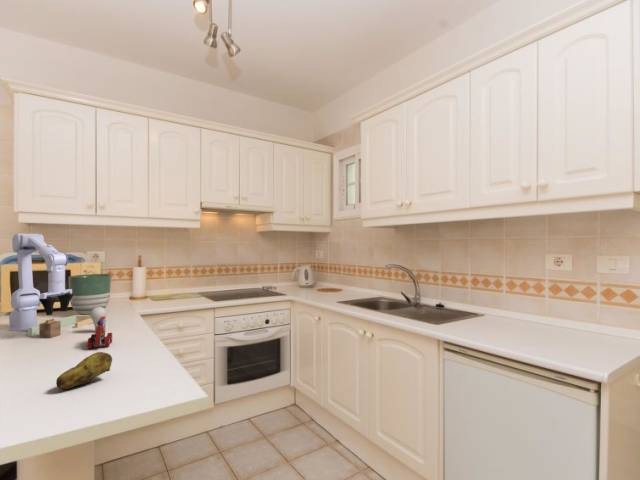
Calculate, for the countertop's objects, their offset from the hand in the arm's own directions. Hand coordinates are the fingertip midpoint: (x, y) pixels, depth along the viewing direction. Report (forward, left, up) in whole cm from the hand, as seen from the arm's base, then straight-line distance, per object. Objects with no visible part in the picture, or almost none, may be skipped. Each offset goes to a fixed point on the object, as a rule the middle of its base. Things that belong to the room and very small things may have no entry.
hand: (56, 312), depth 147 cm
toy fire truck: (+30, -13, -10) cm, 34 cm away
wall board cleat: (-6, +10, -10) cm, 15 cm away
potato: (+51, -47, -10) cm, 70 cm away
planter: (-16, +41, -10) cm, 45 cm away
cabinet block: (-1, -2, -10) cm, 10 cm away
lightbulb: (+15, +6, -10) cm, 18 cm away
